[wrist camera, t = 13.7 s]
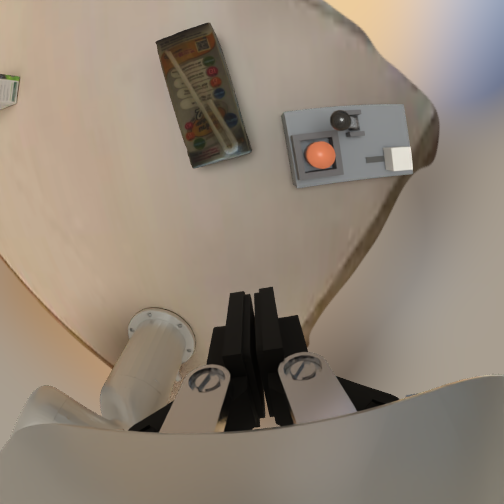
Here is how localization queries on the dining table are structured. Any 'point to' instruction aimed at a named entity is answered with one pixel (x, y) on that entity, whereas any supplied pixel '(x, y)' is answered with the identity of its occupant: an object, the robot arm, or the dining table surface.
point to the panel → (345, 142)
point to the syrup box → (8, 90)
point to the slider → (398, 158)
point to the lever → (344, 121)
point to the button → (319, 154)
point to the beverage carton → (203, 96)
